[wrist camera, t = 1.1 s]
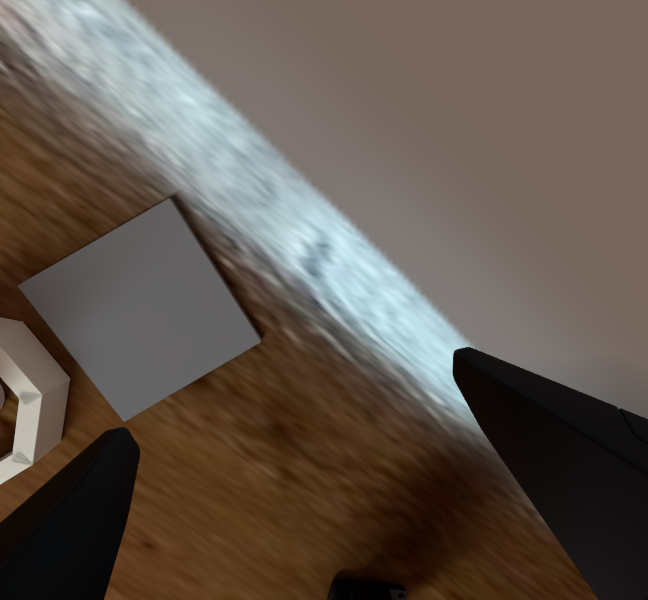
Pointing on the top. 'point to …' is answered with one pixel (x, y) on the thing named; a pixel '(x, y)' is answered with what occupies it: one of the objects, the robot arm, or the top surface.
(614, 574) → the robot arm
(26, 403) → the ring holder
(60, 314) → the mat
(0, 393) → the smoothie
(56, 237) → the top surface
